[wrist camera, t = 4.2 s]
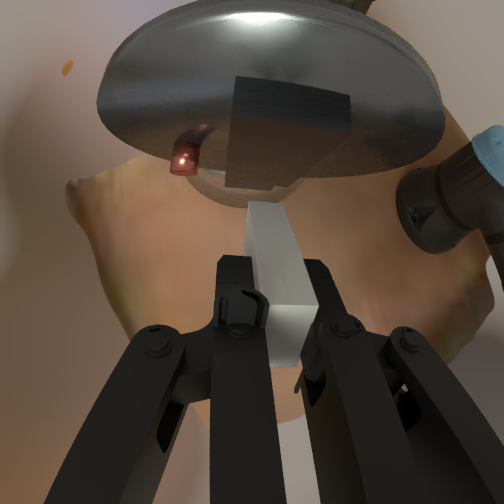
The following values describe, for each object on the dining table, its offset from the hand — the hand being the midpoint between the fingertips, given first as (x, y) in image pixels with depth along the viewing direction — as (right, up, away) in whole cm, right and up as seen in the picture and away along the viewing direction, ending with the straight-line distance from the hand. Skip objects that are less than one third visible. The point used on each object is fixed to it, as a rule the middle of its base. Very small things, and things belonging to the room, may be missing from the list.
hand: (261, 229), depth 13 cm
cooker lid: (+1, +8, +4) cm, 9 cm away
